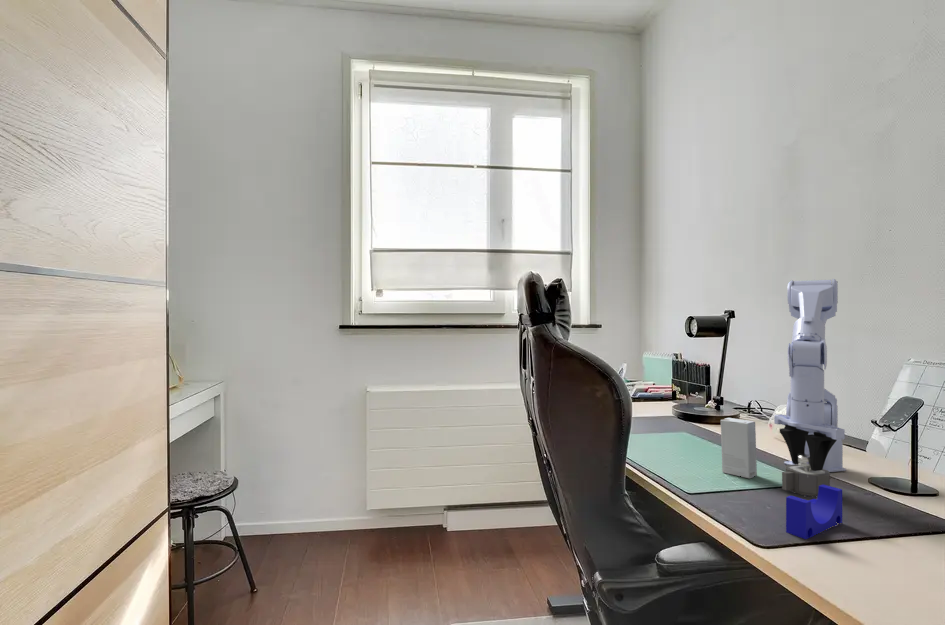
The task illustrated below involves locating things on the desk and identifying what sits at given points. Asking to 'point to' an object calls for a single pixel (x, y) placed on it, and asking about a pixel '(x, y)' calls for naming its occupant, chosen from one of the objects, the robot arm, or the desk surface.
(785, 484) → the press
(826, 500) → the blue u-shaped cradle block
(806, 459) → the plunger
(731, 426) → the skincare box
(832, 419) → the robot arm
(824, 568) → the desk surface
